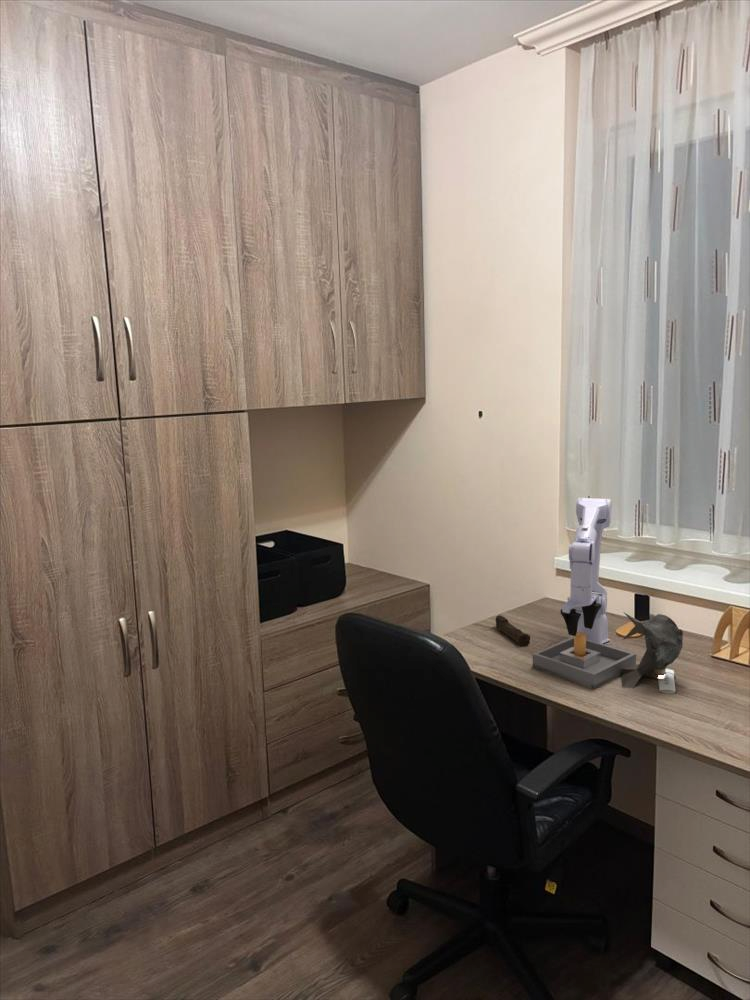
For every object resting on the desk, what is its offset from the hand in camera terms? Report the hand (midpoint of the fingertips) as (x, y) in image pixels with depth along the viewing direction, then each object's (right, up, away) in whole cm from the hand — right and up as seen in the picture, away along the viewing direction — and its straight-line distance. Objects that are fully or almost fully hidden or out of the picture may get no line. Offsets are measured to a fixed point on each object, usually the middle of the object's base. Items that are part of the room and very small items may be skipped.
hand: (580, 631), depth 211 cm
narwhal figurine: (+16, -11, -9) cm, 22 cm away
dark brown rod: (-16, -6, +25) cm, 30 cm away
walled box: (+1, -10, 0) cm, 10 cm away
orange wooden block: (0, -9, +2) cm, 9 cm away
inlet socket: (0, -10, +2) cm, 10 cm away
